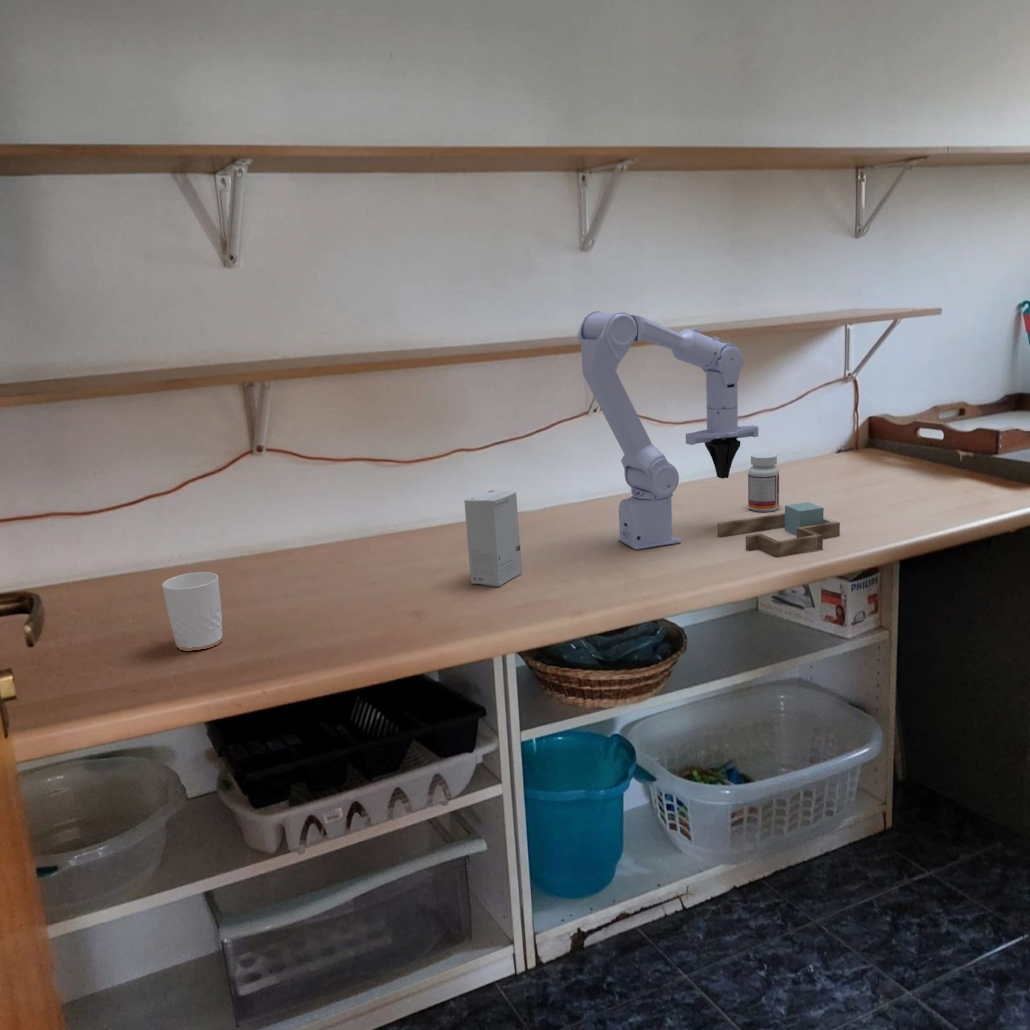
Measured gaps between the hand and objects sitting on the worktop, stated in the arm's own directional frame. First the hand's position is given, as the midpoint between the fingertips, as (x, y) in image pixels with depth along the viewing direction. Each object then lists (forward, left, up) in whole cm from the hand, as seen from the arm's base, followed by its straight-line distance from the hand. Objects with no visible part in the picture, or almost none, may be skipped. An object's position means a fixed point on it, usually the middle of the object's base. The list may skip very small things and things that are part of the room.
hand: (722, 477), depth 186 cm
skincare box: (-49, -9, -10) cm, 51 cm away
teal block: (+11, -11, -10) cm, 18 cm away
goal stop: (+15, -11, -10) cm, 20 cm away
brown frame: (+6, -13, -10) cm, 17 cm away
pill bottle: (+14, +8, -10) cm, 19 cm away
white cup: (-98, -17, -10) cm, 100 cm away
